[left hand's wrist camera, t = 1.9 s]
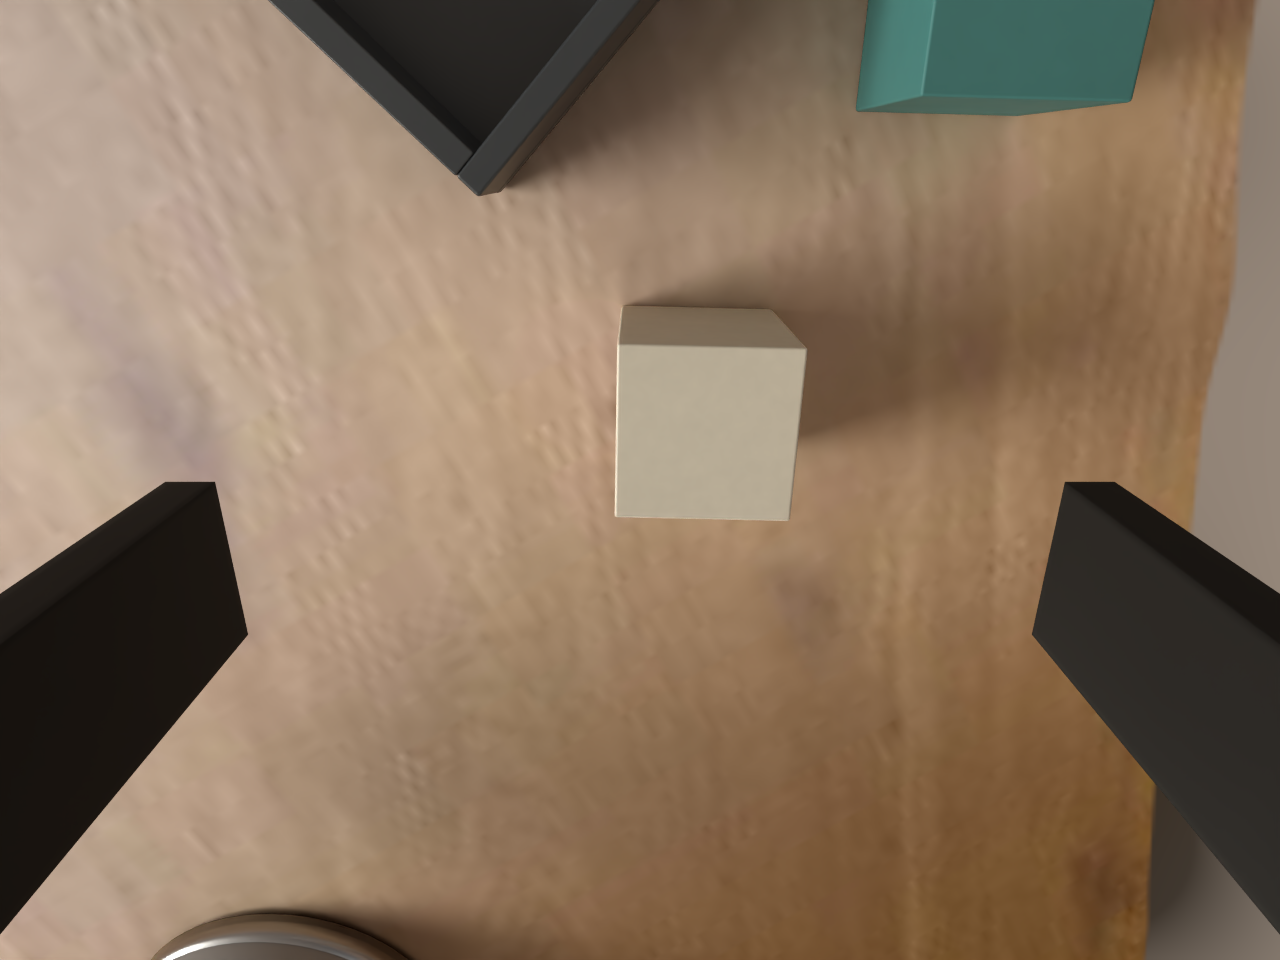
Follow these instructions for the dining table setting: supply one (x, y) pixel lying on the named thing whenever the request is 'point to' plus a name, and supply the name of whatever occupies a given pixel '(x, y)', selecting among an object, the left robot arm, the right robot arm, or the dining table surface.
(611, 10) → the tray
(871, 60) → the teal block
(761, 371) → the beige block
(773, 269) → the dining table surface
